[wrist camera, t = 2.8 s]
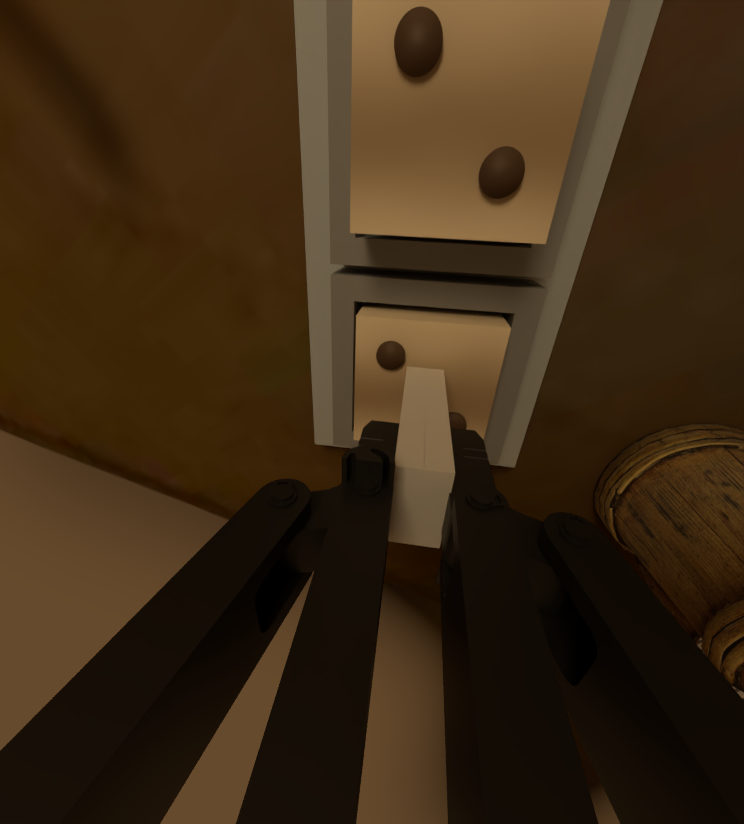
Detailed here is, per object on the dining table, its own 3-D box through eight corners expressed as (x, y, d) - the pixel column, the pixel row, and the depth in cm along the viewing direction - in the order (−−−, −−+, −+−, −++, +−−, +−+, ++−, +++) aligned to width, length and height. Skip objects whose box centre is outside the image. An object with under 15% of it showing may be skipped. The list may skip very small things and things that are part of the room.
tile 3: (367, 299, 16) (355, 317, 14) (497, 309, 16) (512, 329, 13) (363, 409, 19) (352, 442, 17) (472, 421, 19) (480, 457, 16)
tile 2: (371, 7, 11) (351, -64, 8) (576, 6, 10) (632, -71, 7) (364, 229, 14) (348, 233, 11) (522, 237, 13) (547, 244, 10)
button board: (276, -729, 7) (179, -1331, 5) (911, -868, 6) (1331, -1802, 3) (320, 433, 23) (303, 466, 20) (510, 455, 21) (523, 493, 18)
